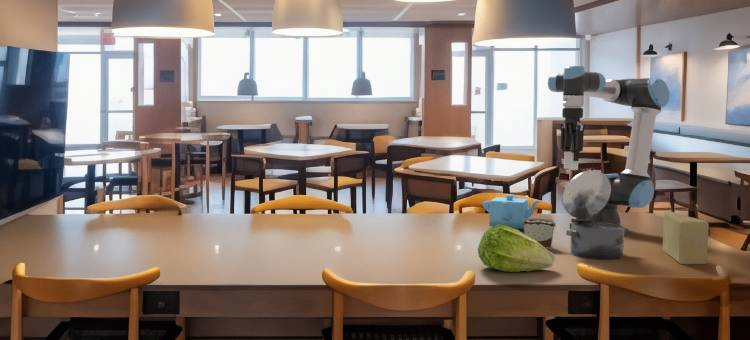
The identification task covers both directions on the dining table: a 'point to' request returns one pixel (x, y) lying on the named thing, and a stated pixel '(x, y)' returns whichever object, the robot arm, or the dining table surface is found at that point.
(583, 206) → the lid
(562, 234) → the dining table surface
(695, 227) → the cheese
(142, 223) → the dining table surface
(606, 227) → the stockpot
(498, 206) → the teakettle
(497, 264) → the lettuce
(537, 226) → the food container
